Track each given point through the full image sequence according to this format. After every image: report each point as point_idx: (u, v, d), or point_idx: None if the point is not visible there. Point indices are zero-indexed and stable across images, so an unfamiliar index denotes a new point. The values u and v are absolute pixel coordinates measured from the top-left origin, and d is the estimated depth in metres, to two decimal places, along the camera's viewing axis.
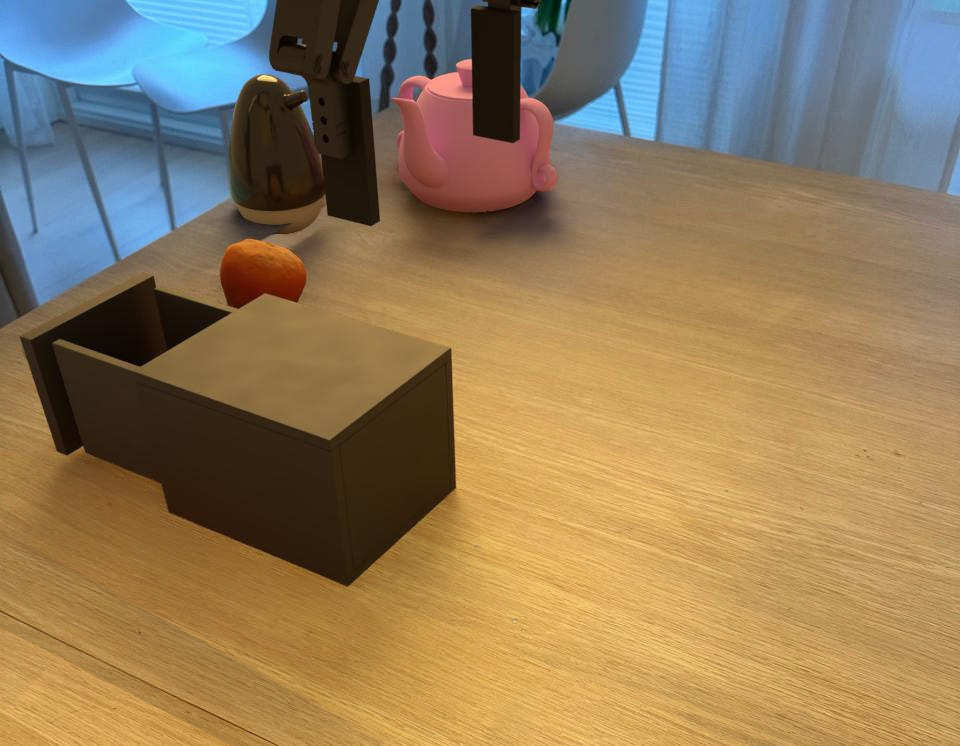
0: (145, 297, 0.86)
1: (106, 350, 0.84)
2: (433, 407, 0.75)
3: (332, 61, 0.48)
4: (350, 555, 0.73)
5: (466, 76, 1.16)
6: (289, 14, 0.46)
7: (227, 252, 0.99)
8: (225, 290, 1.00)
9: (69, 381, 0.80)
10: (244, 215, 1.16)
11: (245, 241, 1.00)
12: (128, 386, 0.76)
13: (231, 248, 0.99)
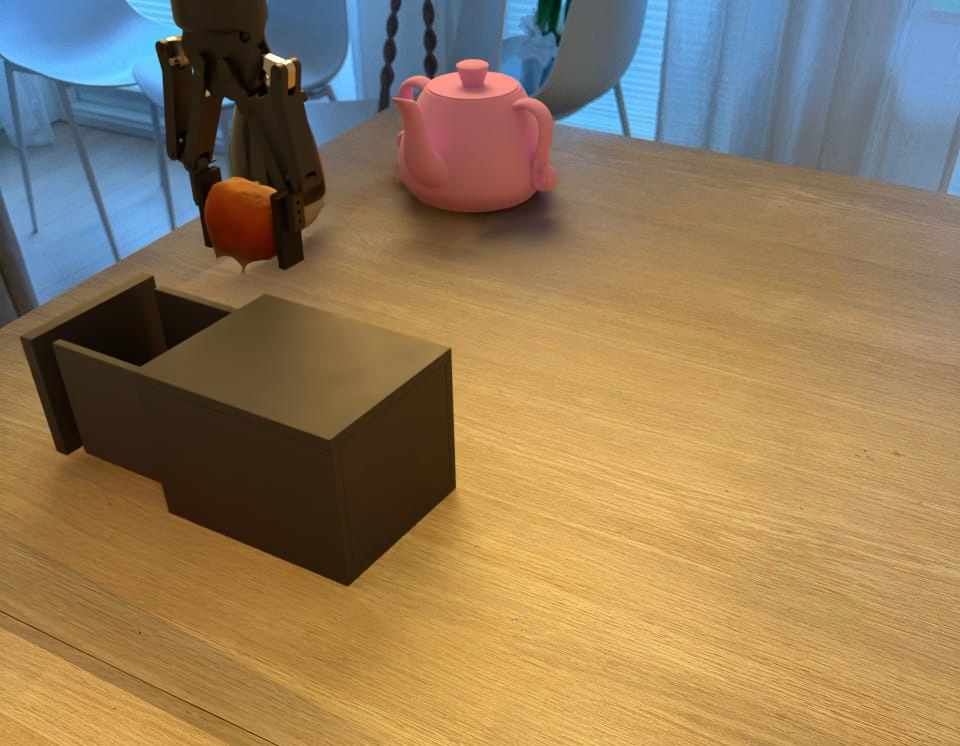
0: (145, 297, 0.86)
1: (106, 350, 0.84)
2: (433, 407, 0.75)
3: None
4: (350, 555, 0.73)
5: (466, 76, 1.16)
6: (304, 164, 0.91)
7: (212, 189, 0.95)
8: (210, 230, 0.96)
9: (69, 381, 0.80)
10: None
11: (231, 179, 0.96)
12: (128, 386, 0.76)
13: (216, 185, 0.95)
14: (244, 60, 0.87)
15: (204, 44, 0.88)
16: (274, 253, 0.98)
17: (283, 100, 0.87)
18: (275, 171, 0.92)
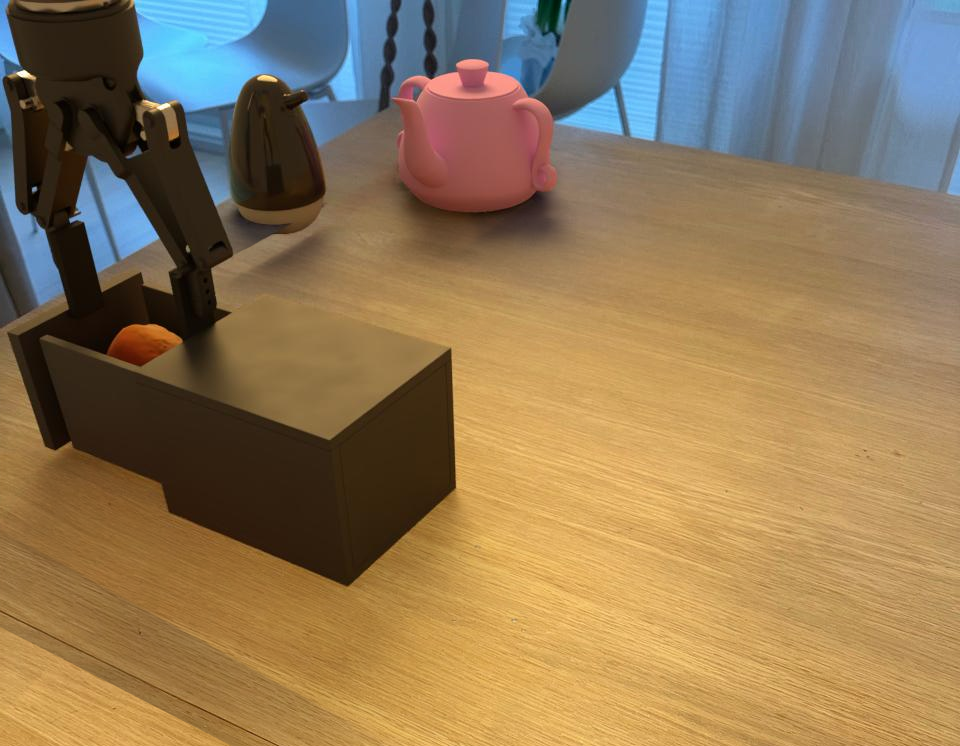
0: (133, 293, 0.86)
1: (94, 346, 0.85)
2: (433, 407, 0.75)
3: None
4: (350, 555, 0.73)
5: (466, 76, 1.16)
6: (206, 233, 0.70)
7: (125, 330, 0.80)
8: None
9: (57, 377, 0.80)
10: (244, 215, 1.16)
11: (149, 325, 0.82)
12: (114, 381, 0.77)
13: (131, 326, 0.80)
14: (111, 112, 0.68)
15: (62, 91, 0.69)
16: None
17: (164, 155, 0.67)
18: (171, 243, 0.71)
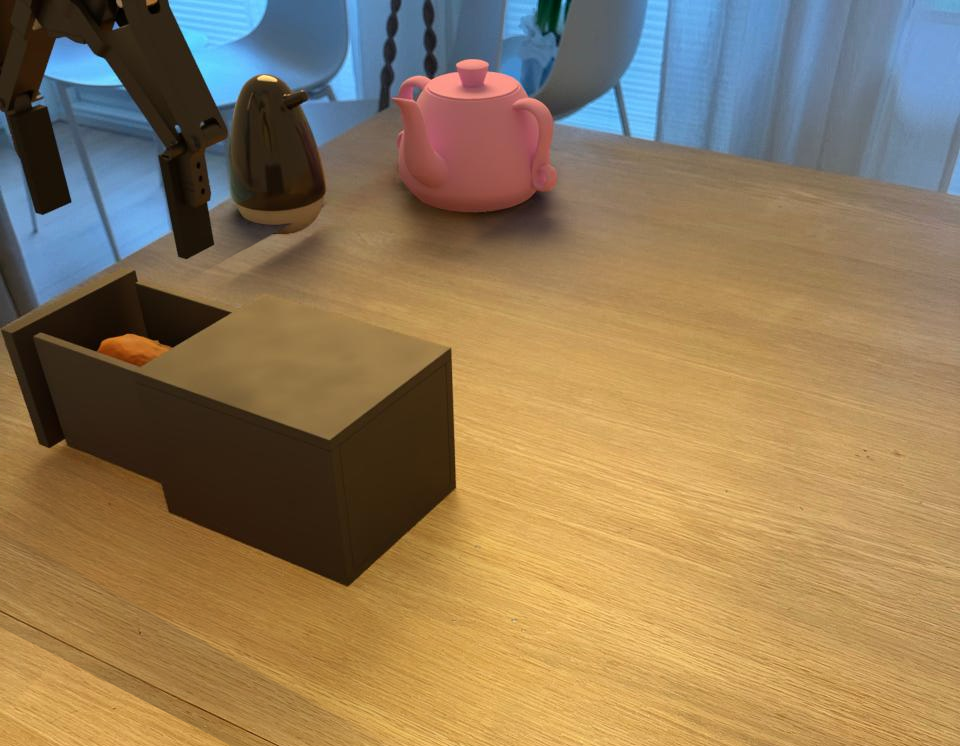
0: (127, 291, 0.86)
1: (88, 344, 0.85)
2: (433, 407, 0.75)
3: None
4: (350, 555, 0.73)
5: (466, 76, 1.16)
6: (195, 107, 0.65)
7: (102, 348, 0.80)
8: None
9: (50, 374, 0.80)
10: (244, 215, 1.16)
11: (126, 336, 0.81)
12: (107, 379, 0.77)
13: (108, 343, 0.80)
14: None
15: None
16: None
17: (143, 20, 0.62)
18: (159, 122, 0.66)
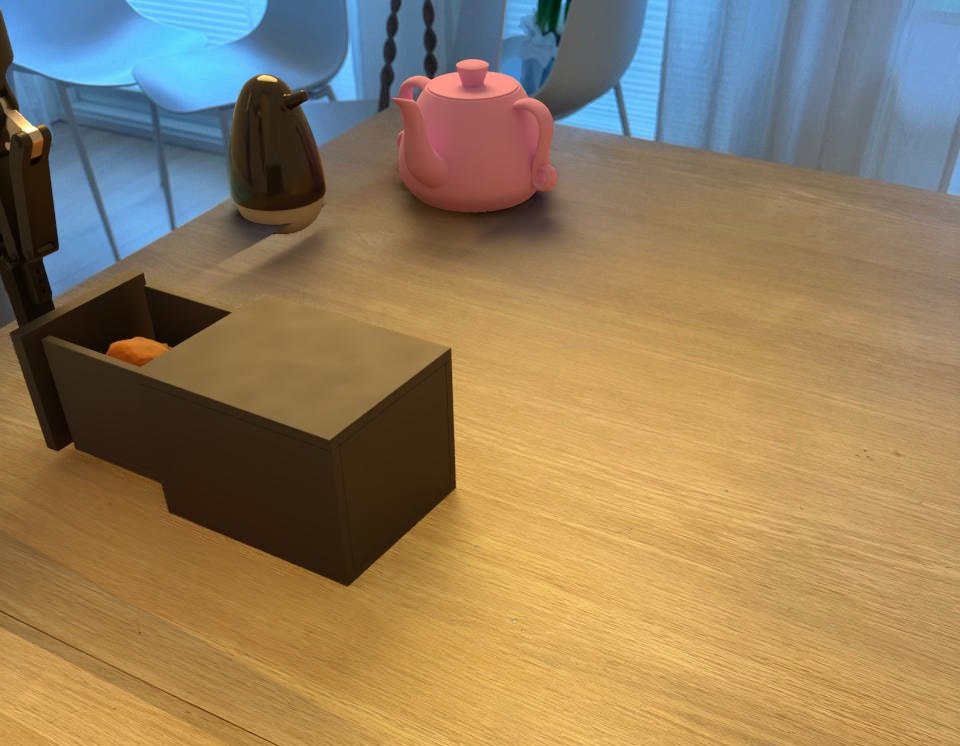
0: (135, 293, 0.86)
1: (96, 347, 0.85)
2: (433, 407, 0.75)
3: None
4: (350, 555, 0.73)
5: (466, 76, 1.16)
6: (39, 234, 0.80)
7: (111, 351, 0.79)
8: None
9: (59, 378, 0.80)
10: (244, 215, 1.16)
11: (135, 339, 0.81)
12: (117, 382, 0.77)
13: (116, 347, 0.79)
14: None
15: None
16: None
17: (22, 171, 0.75)
18: (10, 239, 0.80)
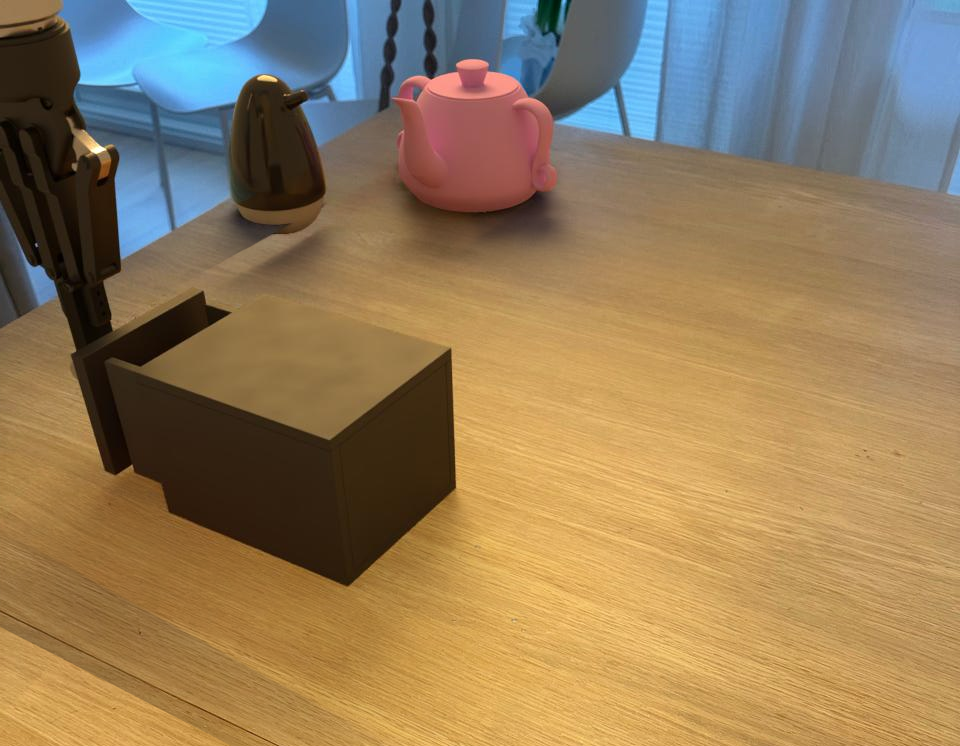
0: (195, 312, 0.84)
1: None
2: (433, 407, 0.75)
3: None
4: (350, 555, 0.73)
5: (466, 76, 1.16)
6: (103, 256, 0.77)
7: None
8: None
9: (121, 400, 0.78)
10: (244, 215, 1.16)
11: None
12: None
13: None
14: (50, 131, 0.71)
15: (5, 112, 0.73)
16: None
17: (89, 193, 0.73)
18: (71, 260, 0.78)
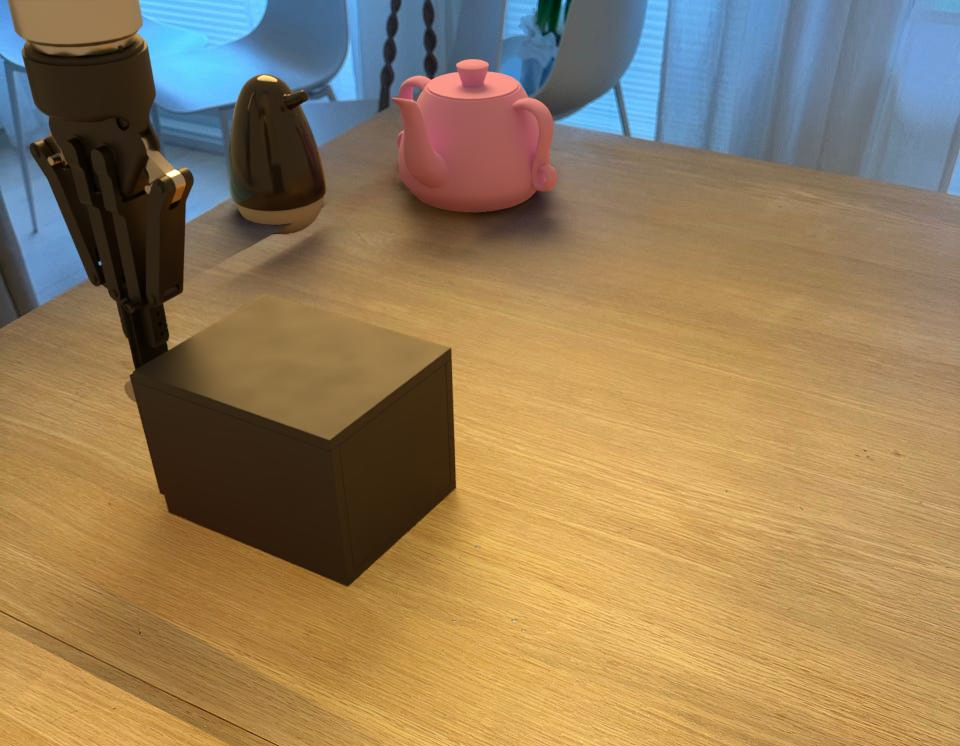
0: None
1: None
2: (433, 407, 0.75)
3: None
4: (350, 555, 0.73)
5: (466, 76, 1.16)
6: (167, 279, 0.75)
7: None
8: None
9: None
10: (244, 215, 1.16)
11: None
12: None
13: None
14: (124, 151, 0.69)
15: (75, 129, 0.70)
16: None
17: (160, 216, 0.71)
18: (134, 281, 0.76)
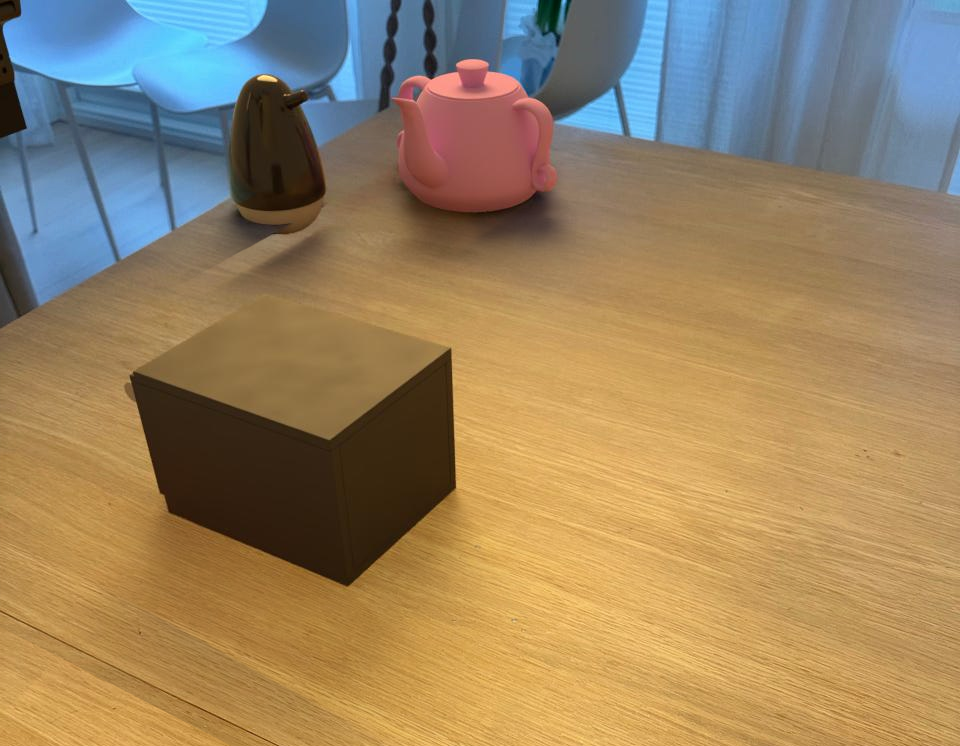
0: None
1: None
2: (433, 407, 0.75)
3: None
4: (350, 555, 0.73)
5: (466, 76, 1.16)
6: None
7: None
8: None
9: None
10: (244, 215, 1.16)
11: None
12: None
13: None
14: None
15: None
16: None
17: None
18: None
